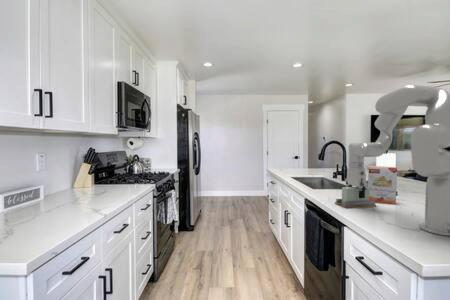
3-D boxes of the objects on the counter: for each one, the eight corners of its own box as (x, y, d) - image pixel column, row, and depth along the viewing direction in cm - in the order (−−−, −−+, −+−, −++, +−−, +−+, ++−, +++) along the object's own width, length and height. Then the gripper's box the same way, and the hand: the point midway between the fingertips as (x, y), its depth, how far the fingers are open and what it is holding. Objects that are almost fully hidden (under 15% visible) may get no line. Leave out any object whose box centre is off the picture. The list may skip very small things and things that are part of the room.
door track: (376, 207, 138) (376, 201, 138) (346, 208, 135) (346, 202, 135) (363, 202, 148) (363, 197, 148) (334, 203, 145) (335, 198, 145)
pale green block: (369, 204, 140) (369, 187, 140) (346, 205, 138) (346, 188, 138) (364, 202, 144) (364, 186, 144) (341, 203, 142) (342, 187, 142)
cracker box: (367, 201, 149) (368, 166, 148) (367, 199, 155) (368, 165, 154) (396, 204, 143) (397, 167, 142) (394, 202, 148) (395, 166, 147)
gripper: (373, 166, 132) (373, 199, 133) (351, 163, 149) (351, 192, 150) (360, 166, 131) (360, 199, 132) (340, 164, 148) (339, 193, 149)
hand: (355, 196), depth 141 cm, fingers open, 9 cm apart
